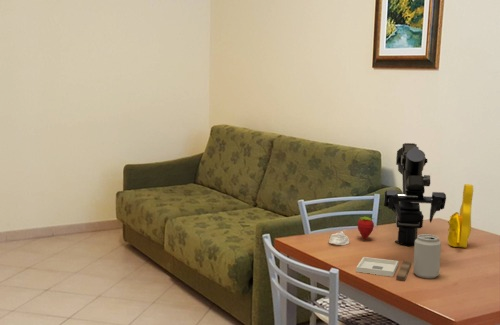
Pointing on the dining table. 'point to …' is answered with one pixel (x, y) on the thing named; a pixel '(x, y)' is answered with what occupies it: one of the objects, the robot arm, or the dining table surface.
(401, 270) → the strip
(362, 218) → the strawberry
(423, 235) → the can
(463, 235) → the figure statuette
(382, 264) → the tray
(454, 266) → the dining table surface
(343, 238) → the whipped cream
